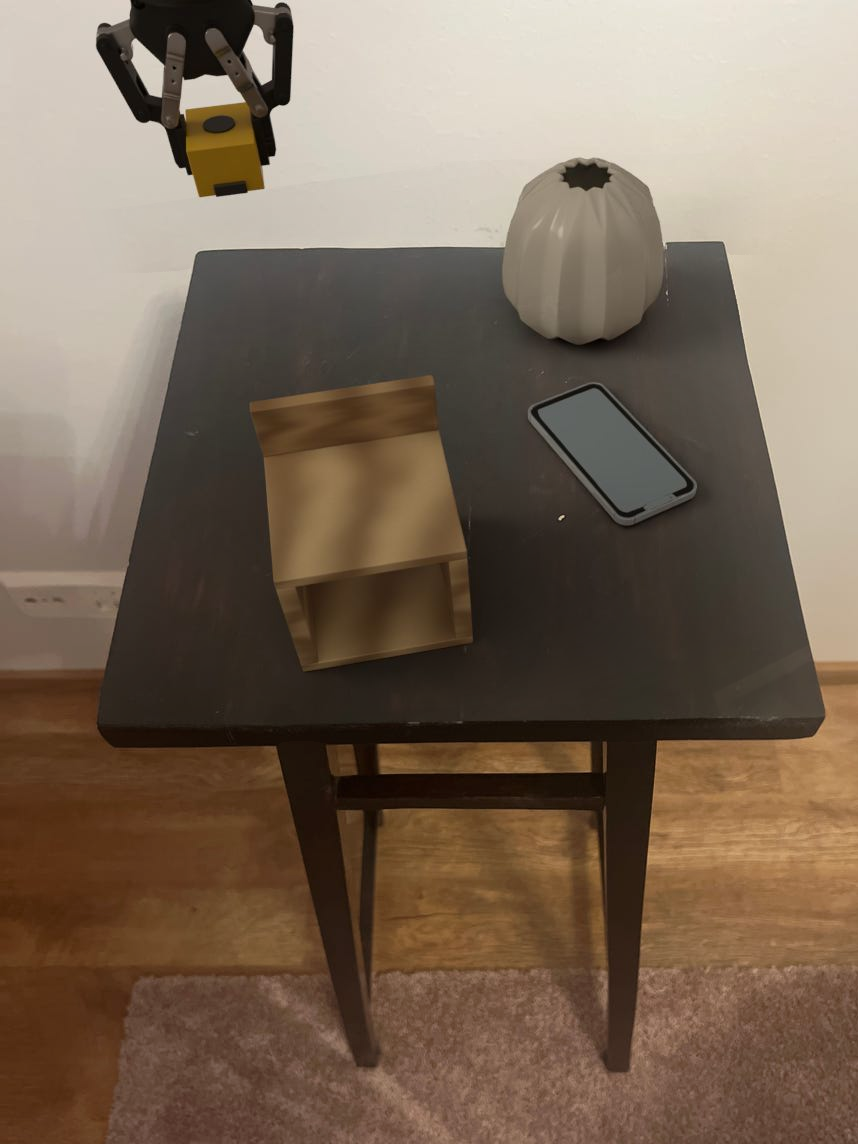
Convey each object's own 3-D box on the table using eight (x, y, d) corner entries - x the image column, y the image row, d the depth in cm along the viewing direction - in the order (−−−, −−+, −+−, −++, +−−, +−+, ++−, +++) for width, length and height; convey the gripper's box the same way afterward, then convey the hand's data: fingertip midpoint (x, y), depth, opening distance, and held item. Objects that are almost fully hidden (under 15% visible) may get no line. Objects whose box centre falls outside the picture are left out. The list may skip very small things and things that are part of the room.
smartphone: (598, 378, 83) (703, 488, 75) (597, 386, 84) (701, 495, 76) (522, 408, 81) (622, 523, 73) (522, 416, 82) (621, 531, 74)
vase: (531, 259, 94) (532, 119, 83) (672, 285, 91) (692, 144, 80) (482, 347, 87) (476, 206, 76) (633, 378, 84) (649, 236, 73)
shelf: (303, 672, 68) (259, 539, 56) (291, 543, 74) (249, 401, 63) (473, 643, 69) (463, 506, 57) (445, 518, 75) (432, 374, 64)
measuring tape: (199, 200, 74) (185, 151, 71) (197, 155, 78) (184, 106, 75) (265, 192, 74) (254, 143, 71) (260, 147, 78) (249, 98, 75)
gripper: (273, -129, 65) (316, 130, 78) (53, -106, 63) (136, 152, 77) (281, -88, 60) (325, 178, 74) (45, -63, 59) (134, 203, 73)
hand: (228, 164), depth 76 cm, fingers closed on measuring tape, 5 cm apart
